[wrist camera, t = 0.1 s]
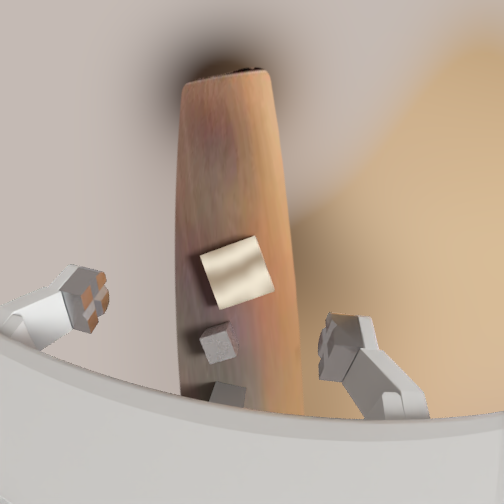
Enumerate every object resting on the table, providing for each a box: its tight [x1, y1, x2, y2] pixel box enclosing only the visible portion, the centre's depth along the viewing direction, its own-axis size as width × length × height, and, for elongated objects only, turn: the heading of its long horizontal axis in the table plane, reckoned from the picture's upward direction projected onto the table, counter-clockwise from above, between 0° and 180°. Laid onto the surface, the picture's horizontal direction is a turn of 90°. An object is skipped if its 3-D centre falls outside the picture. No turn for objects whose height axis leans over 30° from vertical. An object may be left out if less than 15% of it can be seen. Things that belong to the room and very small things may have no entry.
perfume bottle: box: [209, 381, 246, 408], centre depth 58 cm, size 7×7×18 cm
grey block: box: [200, 321, 239, 364], centre depth 63 cm, size 6×6×7 cm
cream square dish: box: [200, 236, 274, 310], centre depth 63 cm, size 11×11×5 cm
